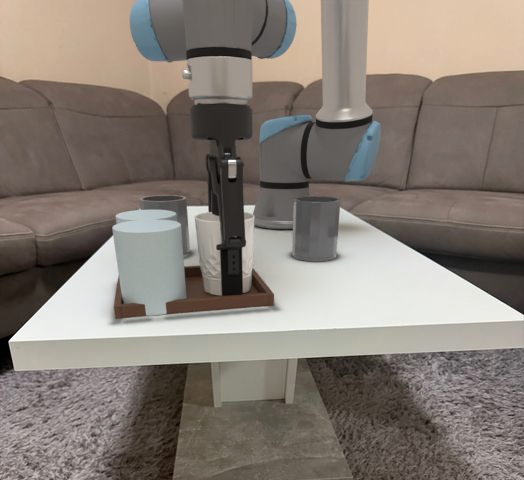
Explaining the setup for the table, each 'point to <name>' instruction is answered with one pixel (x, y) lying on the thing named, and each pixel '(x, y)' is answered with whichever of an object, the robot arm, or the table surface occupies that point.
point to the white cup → (210, 255)
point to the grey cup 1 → (170, 204)
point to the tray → (200, 297)
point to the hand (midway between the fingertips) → (227, 287)
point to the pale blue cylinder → (150, 263)
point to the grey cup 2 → (315, 228)
